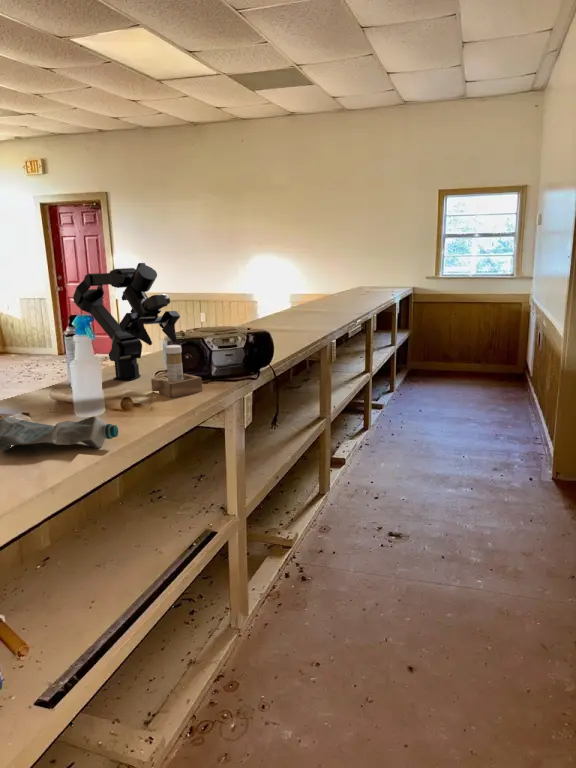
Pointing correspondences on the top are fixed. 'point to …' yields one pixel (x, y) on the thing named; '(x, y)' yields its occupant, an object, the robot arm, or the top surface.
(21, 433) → the crushed plastic bottle
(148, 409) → the top surface
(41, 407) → the top surface
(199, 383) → the cradle
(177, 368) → the sprinkles bottle
